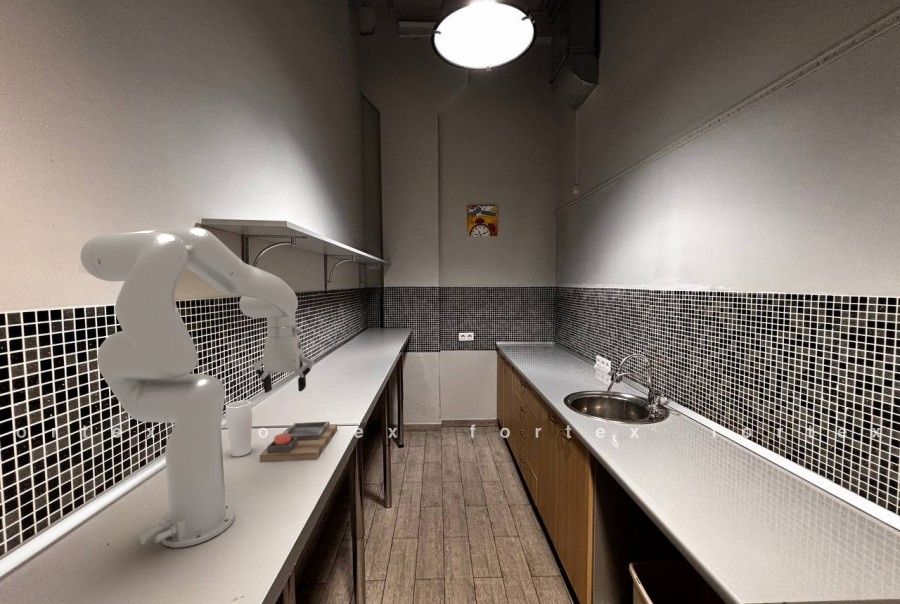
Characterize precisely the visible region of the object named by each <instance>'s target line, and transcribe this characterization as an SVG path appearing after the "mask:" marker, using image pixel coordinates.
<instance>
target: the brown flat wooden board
mask: <svg viewBox="0 0 900 604" xmlns="http://www.w3.org/2000/svg"><path fill="white" fill-rule="evenodd" d="M337 432H338V424H335V423H334V424H330V421H317V422H316V421H313V422H311V421H310V422H294V423H293V424H292V425H290V426H289V427H288V428H286V429H285V430H284V431H283V432H282V433H281V434H284V433H288V434H291V443H290V444H289V445H278V446H275V443H274V440H273V441H272V442H271V443H270V444H269V445H267V447H266V448H265V449H264V450H263V451H262V452H261V453H260V454H259V455H258V456H259V457H258V458H259V463H273V462H292V461H293V462H294V461H295V462H296V461H312V460H314V461H315V460H316V461H317V460H318V459H319V458H320V456H321V455H322V454H323V452H324V451H325V449H326V447H328V445H329V443H330V442H331V440H332V439H333V437H334V436H335V434H336V433H337Z"/></svg>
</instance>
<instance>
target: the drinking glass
mask: <svg viewBox="0 0 900 604" xmlns="http://www.w3.org/2000/svg"><path fill="white" fill-rule="evenodd" d="M225 420H226V426H227V431H228V432H227V433H228V439H229V446H230V454H231V456H232V457H237V458H239V457H242V456H247V455H248V454H250V453H251V452H252V435H253V434H252V428H253V405H252V401H250V400H238V401H232V402H230V403H227V404H226V405H225Z"/></svg>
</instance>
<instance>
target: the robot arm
mask: <svg viewBox="0 0 900 604" xmlns="http://www.w3.org/2000/svg"><path fill="white" fill-rule="evenodd" d="M80 262H81V265H82V266H83V268H84V269H85V270H86V272H87V273H89V274H90V275H91V276H92V277H95V278H96V279H99V280H101V281H105V282H106V281H107V282H123V284H122V286H121V288H120V291H119V293H118V295H117V297H116V301H115V307H114V309H115V316H116V318H117V321H118V323H119V325H120V328H121V331H118V332H115V333H113V334H111V335H109V336H108V337H107V338H105V339H104V341H103V342H102V343H101V344H100V347H99V348H98V349H99V350H98V353H97V366H98V370H99V372H100V374H101V375H102V378H103V379H104V381H105V383H106V384H107V386H109V388H110V390H111V391H112V393H113V395H114V396H115V398H116V399H117V400H118V402H119V404H120V405H121V407H122V408H123V409H124V411H125V412H126V413H127V414H128V415H129V416H130V417H131V419H134V420H136V421H138V422H143V423H169V424H174V427H173V429H172V432H171V433H170V435H169V436H168V439H167V441H166V445H165V449H164V450H165V451H164V453H165V454H164V456H165V468H166V469H165V470H166V483H167V499H168V501H167V502H168V513H165V514H164V515H163V516H162V517H163V521H160V522H159V523H158V525H157V526H155V527H154V528H151V529H148V530H146V531H144V532H142V533H140V534H139V542H140V543H141V545H145V544H147V543H150V542H151V541H153V540H154V542H155V543H156V544H159V543H162V545H164V546H165V545H166V546H165V547H168V546H169V548H187V547H191V546H195V545H198V544H201V543H204V542H207V541H209V540H210V539H213V538H214V537H217V536H218V535H220V534H222V533H223V532H225V530H227V529H228V528H229V527H230V526H231V525H232V524H233V522H234V521H235V516H236V515H235V509H234V508H233V506H230V505H227V504H226V493H225V492H226V491H225V490H226V489H225V488H226V487H225V472H224V471H225V470H224V458H223V457H224V456H223V441H222V439H223V436H222V434H223V433H222V419H223V412H224V406H225V399H226V389H225V386H224V384H223V383H222V381H221V380H220V379H219V378H217V377H215V376H213V375H209V374H204V373H203V374H202V373H191V372H193V371H194V369H196V367H197V364H198V351H197V349H196V345H195V343H194V341H193V339H192V337H191V335H190V333H189V331H188V328H187V327H186V325H185V321H183V319H182V316H181V314H180V312H179V309H178V306H177V303H176V291H177V288H178V285H179V282H180V280H181V277H182V275H183V274H184V271H185V270H186V269H187V270H190V271H191V272H192V273H194V274H195V275H197V276H198V277H200V278H201V279H203V280H204V282H206V283H208V284H209V285H211V286H212V287H213V288H215V289H216V290H218V292H219V291H220V292H222V293H225V294H229V295H233V296H239V297H241V298H240V299H239V303H238V304H239V309H240V312H241V313H242V314H243V315H244V316H246V317H248V318H253V319H254V318H255V319H259V318H260V319H261V318H262V319H263V318H265V319H266V323H267V325H266V326H267V337H266V338H265V342H264V348H263V349H264V350H263V358H260V360H258V361H256V362H254V363H253V364H252V367H253V369H254V371H255V373H256V374H257V375H258V376H259V377H260V379H261V380H262V387H263V390H264V393H265V394H268V393H269V392H271V391H272V389H273V385H272V383H273V382H272V377H271V376H270V375H271V374H272V373H290V372H295V373H296V375H298V379H297V385H298V387H297V388H298V391H299V392H303V391H304V390H305V389H306V387H307V379H306V376H307V375H308V374H309V373H310V372H311V371H312V369H313V366H314V364H315V360H314V359H310V358H309V357H306V356H304V350H303V345H302V341H301V337H300V336H299V335H297V334H298V333H301V331H302V330H301V328H300V327H297V322H296V312H297V310H298V307H299V300H298V296H297V294H295V291H294V290H293V288H291V287H290V285H288V283H286V282H285V281H284V280H283V279H282V278H280V277H279V276H277V275H274V274H272V273H270V272H268V271H266V270H263V269H261V268H258V267H256V266H253V265H250V264H247V263H246V262H244V261H243V260H242V259H241V258H240V257H239V256H237V255H236V254H235V253H234V252H233V251H232V250H230V248H229V247H227V246H226V244H224V243H223V242H222V241H221V240H220V239H219V238H218V237H217V236H216V235H214V234H213V232H211V231H209V230H208V229H206V228H202V227H196V226H185V227H168V228H167V227H166V228H156V229H155V228H154V229H149V230H141V231H132V232H131V231H130V232H122V233H121V232H119V233H110V234H109V233H108V234H99V235H96V236H94V237H91V238H90V239H88V241H86V242H85V244H83V246H82V248H81V250H80ZM305 364H306V368H305V369H304V368H303V367H304V366H305ZM261 365H263V368H262V367H261Z"/></svg>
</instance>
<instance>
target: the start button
mask: <svg viewBox="0 0 900 604" xmlns="http://www.w3.org/2000/svg"><path fill="white" fill-rule="evenodd" d="M273 438H274V439H273V441H274V443H275V446H278V445H289V444H290V443H291V434H288V433H284V434H282V433H280V434H276V435H274V437H273Z"/></svg>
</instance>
